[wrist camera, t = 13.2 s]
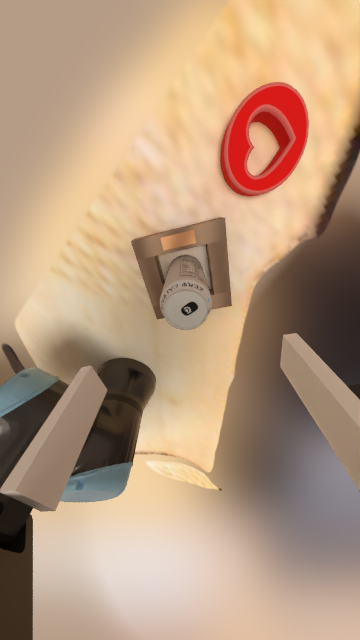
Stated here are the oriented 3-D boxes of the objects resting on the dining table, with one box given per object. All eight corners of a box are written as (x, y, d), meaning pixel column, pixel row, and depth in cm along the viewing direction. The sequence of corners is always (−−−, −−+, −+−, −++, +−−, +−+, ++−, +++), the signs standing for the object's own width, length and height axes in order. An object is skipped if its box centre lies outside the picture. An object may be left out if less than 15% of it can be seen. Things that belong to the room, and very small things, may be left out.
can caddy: (159, 311, 36) (156, 320, 33) (135, 238, 29) (130, 241, 26) (228, 298, 34) (231, 306, 31) (221, 217, 27) (225, 217, 24)
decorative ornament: (301, 168, 24) (316, 163, 21) (235, 210, 27) (240, 209, 24) (285, 73, 20) (301, 51, 17) (208, 133, 22) (211, 122, 20)
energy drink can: (161, 268, 31) (145, 306, 19) (188, 246, 29) (191, 272, 16) (182, 293, 34) (181, 342, 21) (208, 274, 32) (224, 316, 19)
